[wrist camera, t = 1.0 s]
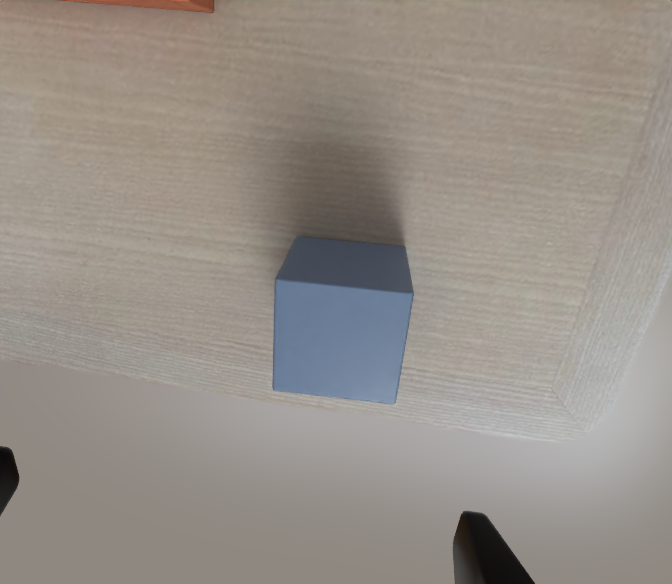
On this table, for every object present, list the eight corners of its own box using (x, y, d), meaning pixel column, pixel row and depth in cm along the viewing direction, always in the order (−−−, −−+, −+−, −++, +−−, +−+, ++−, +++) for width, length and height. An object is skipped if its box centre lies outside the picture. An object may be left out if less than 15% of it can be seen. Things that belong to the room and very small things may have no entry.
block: (292, 330, 21) (272, 391, 17) (296, 235, 19) (274, 278, 15) (391, 340, 20) (395, 405, 16) (405, 246, 19) (414, 292, 14)
